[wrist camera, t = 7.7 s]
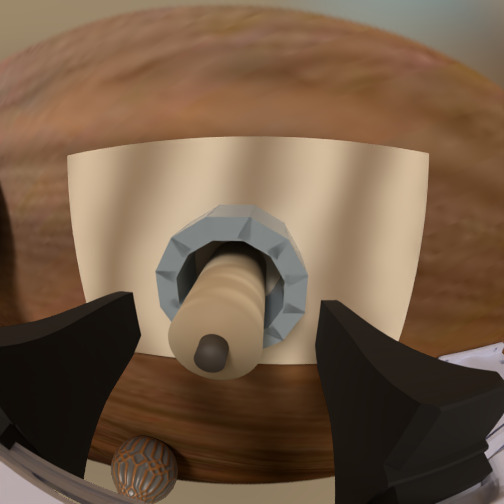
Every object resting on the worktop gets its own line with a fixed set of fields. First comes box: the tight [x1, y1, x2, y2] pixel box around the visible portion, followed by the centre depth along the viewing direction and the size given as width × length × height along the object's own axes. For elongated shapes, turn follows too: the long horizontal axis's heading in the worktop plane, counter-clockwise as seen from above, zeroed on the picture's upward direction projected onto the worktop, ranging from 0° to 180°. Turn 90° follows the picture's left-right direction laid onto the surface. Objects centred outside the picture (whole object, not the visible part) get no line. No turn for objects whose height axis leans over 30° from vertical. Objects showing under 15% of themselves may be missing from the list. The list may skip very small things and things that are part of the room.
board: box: [67, 137, 429, 364], centre depth 16 cm, size 22×14×1 cm, turn 90°
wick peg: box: [168, 241, 267, 380], centre depth 12 cm, size 3×3×8 cm
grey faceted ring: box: [155, 204, 308, 349], centre depth 14 cm, size 7×7×4 cm
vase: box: [111, 436, 178, 504], centre depth 19 cm, size 7×7×9 cm
